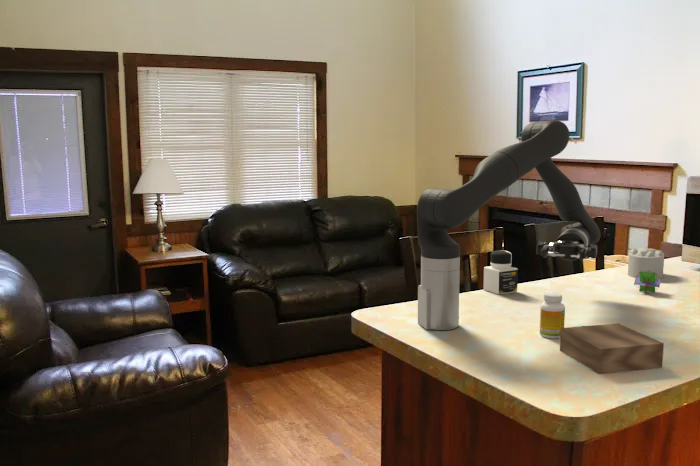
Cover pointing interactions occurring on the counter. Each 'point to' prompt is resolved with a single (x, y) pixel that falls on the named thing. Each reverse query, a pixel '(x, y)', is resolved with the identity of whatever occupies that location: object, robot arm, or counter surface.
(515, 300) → the counter surface
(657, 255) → the lumpy-topped squat cylinder
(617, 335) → the walnut block
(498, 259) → the medicine bottle
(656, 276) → the geometric puzzle
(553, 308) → the supplement bottle
